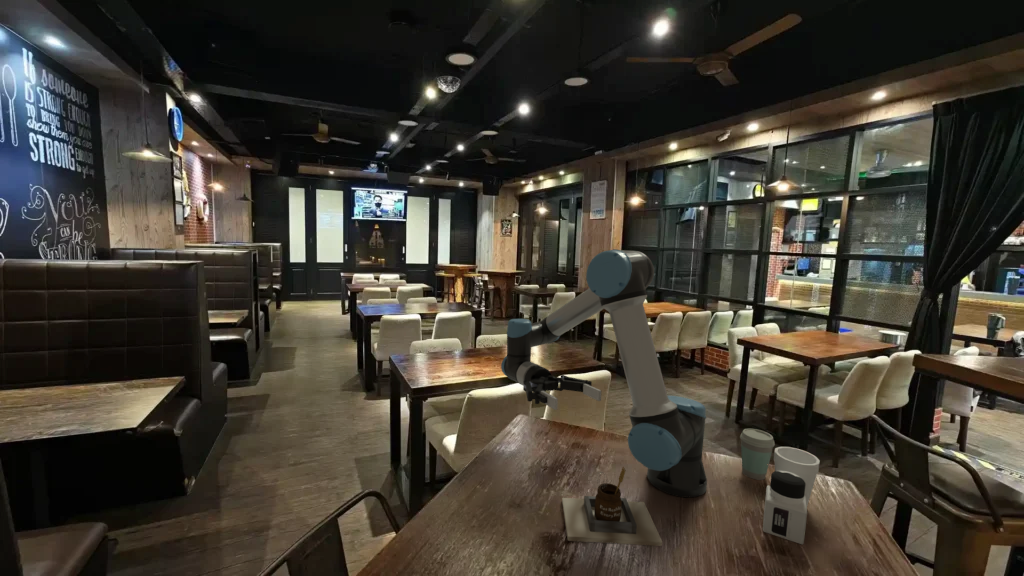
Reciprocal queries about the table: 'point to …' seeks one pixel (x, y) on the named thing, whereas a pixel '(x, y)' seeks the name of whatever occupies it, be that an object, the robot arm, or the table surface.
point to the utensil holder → (609, 500)
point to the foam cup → (798, 465)
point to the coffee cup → (756, 452)
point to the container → (785, 507)
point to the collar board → (609, 523)
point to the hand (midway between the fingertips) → (578, 399)
